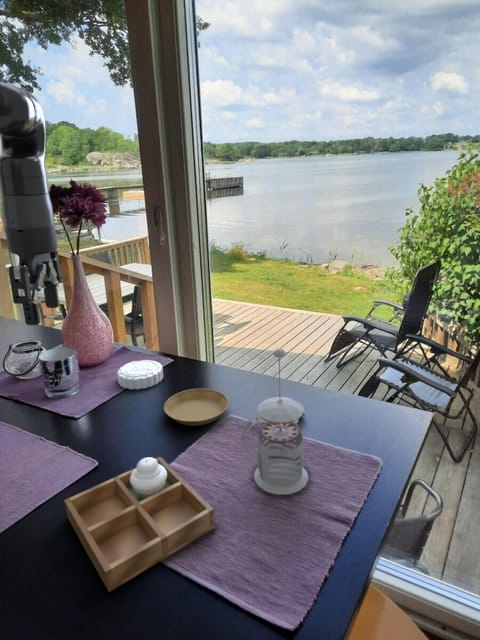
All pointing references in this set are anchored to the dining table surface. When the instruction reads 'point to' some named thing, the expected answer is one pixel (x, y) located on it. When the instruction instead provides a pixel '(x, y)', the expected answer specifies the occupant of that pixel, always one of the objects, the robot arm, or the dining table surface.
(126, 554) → the grid
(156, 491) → the muffin
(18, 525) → the dining table surface
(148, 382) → the mooncake
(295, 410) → the french press
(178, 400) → the plant saucer
